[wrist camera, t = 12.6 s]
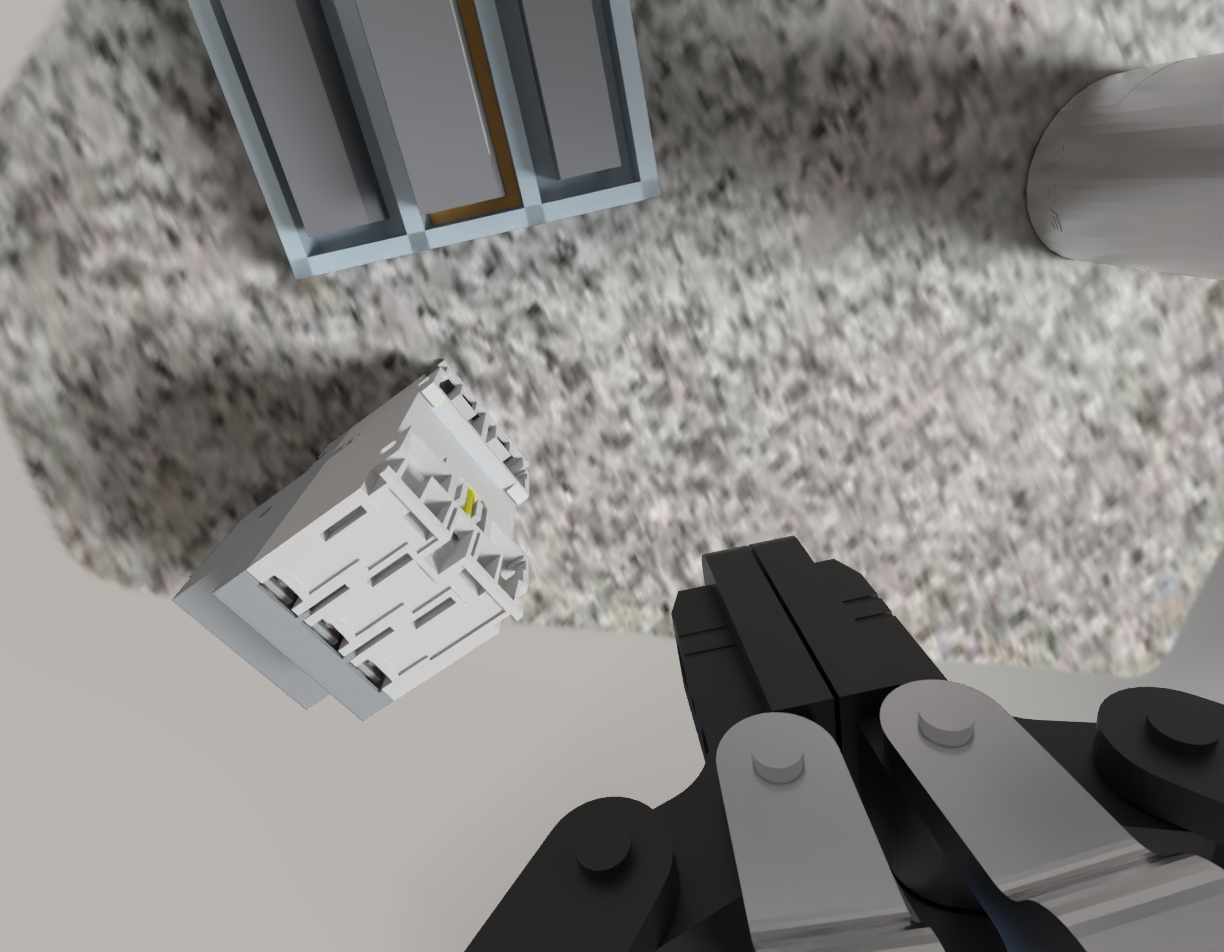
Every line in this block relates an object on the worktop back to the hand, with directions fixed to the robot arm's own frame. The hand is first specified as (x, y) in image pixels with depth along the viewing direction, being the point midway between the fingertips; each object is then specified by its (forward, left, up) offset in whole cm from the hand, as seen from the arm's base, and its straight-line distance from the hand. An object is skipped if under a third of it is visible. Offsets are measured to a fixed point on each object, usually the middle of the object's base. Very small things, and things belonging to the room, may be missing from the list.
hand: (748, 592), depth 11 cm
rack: (+5, -11, -27) cm, 30 cm away
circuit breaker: (+14, +7, -28) cm, 32 cm away
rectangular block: (+5, -11, -26) cm, 29 cm away
